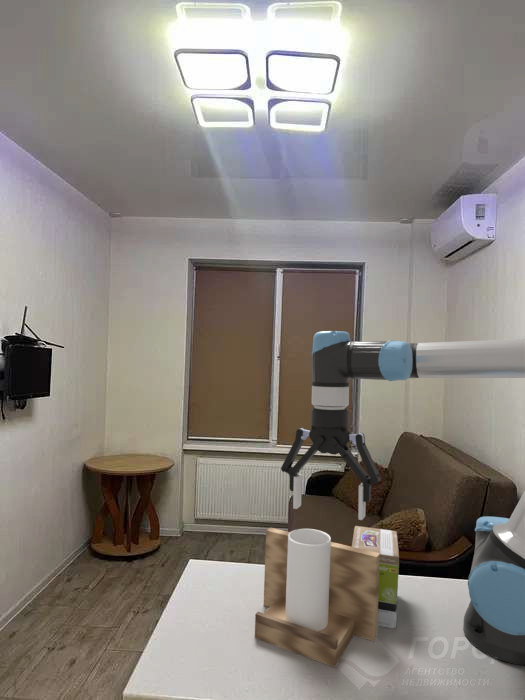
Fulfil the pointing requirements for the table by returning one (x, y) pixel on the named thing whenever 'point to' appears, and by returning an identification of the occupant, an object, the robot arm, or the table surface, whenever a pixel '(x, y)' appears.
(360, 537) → the tea box
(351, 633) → the board
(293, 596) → the cup
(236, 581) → the table surface
